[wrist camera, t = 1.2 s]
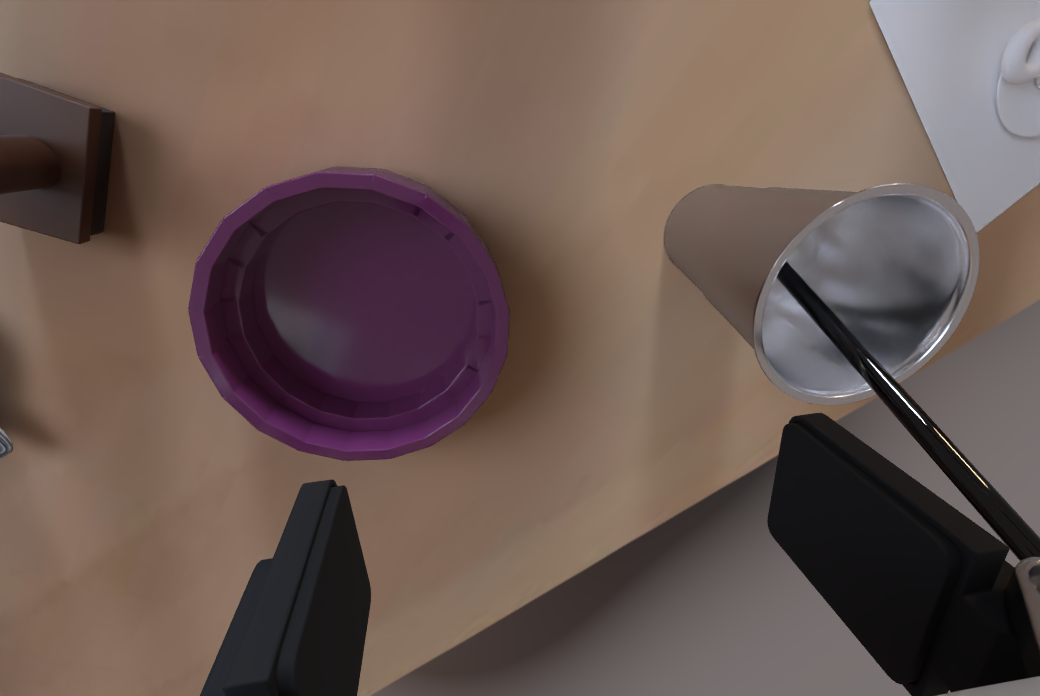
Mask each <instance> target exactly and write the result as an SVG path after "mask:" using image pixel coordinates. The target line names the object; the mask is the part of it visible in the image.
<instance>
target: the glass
mask: <svg viewBox="0 0 1040 696" xmlns="http://www.w3.org/2000/svg"><path fill="white" fill-rule="evenodd" d="M664 244H665V249H666V253H667V255H668V257H669V259H670V260H671V262H672V263H673V264H674V265H675V266H676V267H677V268H678V269H679V270H680V271H681V272H682V273H683V274H684V275H685V276H686V277H687V278H688V279H689V280H690V281H691V282H692V283H693V284H694V285H695V286H696V287H697V288H698V289H699V290H700V291H701V292H702V293H703V295H704V296H705V298H706V299H707V300H708V301H709V302H710V303H711V305H712V306H713V307H714V308H715V309H716V310H717V311H718V312H719V313H720V314H721V315H722V316H723V317H724V318H725V319H726V320H727V321H728V322H729V324H730V325H731V326H732V327H733V328H734V329H735V330H736V331H737V332H738V333H739V334H740V335H741V336H742V337H743V338H744V339H745V341H746V342H747V343H748V344H749V345H750V346H751V347H752V348H753V349H754V351H755V355H756V358H757V360H758V363H759V365H760V367H761V369H762V370H763V372H764V374H765V375H766V376H767V378H768V379H769V380H770V381H771V382H772V383H773V384H774V385H775V386H776V387H777V388H779V389H780V390H781V391H783V392H784V393H786V394H787V395H789V396H791V397H793V398H795V399H798V400H801V401H804V402H808V403H812V404H820V405H838V404H846V403H852V402H856V401H860V400H863V399H867V398H869V397H872V396H875V395H878V396H879V398H880V399H881V400H882V401H883V402H884V403H885V405H886V406H887V407H888V408H889V409H890V410H891V411H892V413H893V414H894V415H895V416H896V417H897V418H898V420H899V421H900V422H901V423H902V424H903V425H904V427H905V428H906V429H907V430H908V431H909V432H910V434H911V435H912V436H913V437H914V438H915V439H916V441H917V442H918V443H919V444H920V445H921V446H922V448H923V449H924V450H925V451H926V452H927V453H928V454H929V456H930V457H931V458H932V459H933V460H934V461H935V463H936V464H937V465H938V466H939V467H940V469H941V470H942V471H943V472H944V473H945V474H946V475H947V477H948V478H949V479H950V480H951V481H952V482H953V484H954V485H955V486H956V487H957V488H958V489H959V491H960V492H961V493H962V494H963V495H964V496H965V497H966V499H967V500H968V501H969V502H970V503H971V505H972V506H973V507H974V508H975V509H976V510H977V512H978V513H979V514H980V515H981V516H982V517H983V519H984V520H985V521H986V522H987V523H988V524H989V526H990V527H991V528H992V529H993V530H994V531H995V533H996V534H997V535H998V536H999V537H1000V538H1001V539H1002V541H1003V542H1004V543H1005V544H1006V545H1007V546H1008V547H1009V548H1010V550H1011V551H1012V552H1013V553H1014V555H1015V556H1016V557H1017V558H1018V559H1019V560H1020V561H1021V560H1023V559H1026V558H1030V557H1040V538H1039V536H1038V535H1037V534H1036V533H1035V532H1034V531H1033V530H1032V529H1031V528H1030V527H1029V526H1028V525H1027V523H1026V522H1025V521H1024V520H1023V519H1022V518H1021V517H1020V516H1019V515H1018V514H1017V512H1016V511H1015V510H1014V509H1013V508H1012V507H1011V506H1010V505H1009V504H1008V503H1007V502H1006V500H1005V499H1004V498H1003V497H1002V496H1001V495H1000V494H999V493H998V492H997V491H996V490H995V488H993V486H992V485H991V484H990V483H989V482H988V481H987V480H986V479H985V478H984V476H983V475H982V474H981V473H980V472H979V471H978V470H977V469H976V468H975V467H974V465H973V464H972V463H971V462H970V461H969V460H968V459H967V458H966V457H965V456H964V454H963V453H962V452H961V451H960V450H959V449H958V448H957V447H956V446H955V445H954V444H953V442H952V441H951V440H950V439H949V438H948V437H947V436H946V435H945V434H944V433H943V432H942V430H941V429H940V428H938V426H937V425H936V424H935V423H934V422H933V421H932V419H931V418H930V417H929V416H928V415H927V414H926V413H925V412H924V411H923V410H922V409H921V407H920V406H919V405H918V404H917V403H916V402H915V401H914V400H913V399H912V398H911V397H910V396H909V395H908V393H907V392H906V391H905V390H904V389H903V388H902V387H901V386H900V384H899V383H901V382H902V381H904V380H905V379H907V378H908V377H910V376H911V375H912V374H914V373H915V372H916V371H918V370H919V369H920V368H921V367H922V366H924V365H925V364H926V363H927V362H928V361H929V360H930V359H931V358H932V357H933V356H934V355H935V354H936V353H937V352H938V351H939V350H940V349H941V348H942V346H943V345H944V344H945V343H946V342H947V340H948V339H949V338H950V336H951V335H952V334H953V332H954V331H955V329H956V328H957V326H958V325H959V323H960V321H961V319H962V318H963V316H964V314H965V312H966V310H967V308H968V306H969V303H970V301H971V298H972V295H973V293H974V289H975V286H976V282H977V277H978V271H979V244H978V239H977V234H976V231H975V228H974V226H973V224H972V221H971V220H970V218H969V216H968V214H967V213H966V212H965V210H964V209H963V208H962V207H961V206H960V205H959V204H958V203H957V202H956V201H955V200H954V199H952V198H951V197H950V196H948V195H946V194H945V193H943V192H941V191H939V190H936V189H934V188H930V187H927V186H923V185H917V184H908V183H895V184H886V185H880V186H875V187H871V188H868V189H864V190H861V191H859V192H851V191H833V190H815V189H797V188H780V187H768V188H756V187H743V186H730V185H723V184H710V185H705V186H702V187H699V188H697V189H695V190H693V191H691V192H690V193H688V194H687V195H686V196H684V197H683V198H682V199H681V200H680V201H679V202H678V203H677V205H676V206H675V207H674V209H673V210H672V212H671V214H670V216H669V218H668V220H667V223H666V227H665V232H664Z"/></svg>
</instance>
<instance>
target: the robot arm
mask: <svg viewBox="0 0 1040 696" xmlns="http://www.w3.org/2000/svg"><path fill="white" fill-rule="evenodd" d="M768 527H769V530H770V533H771V535H772V536H773V538H774V539H775V540H776V541H777V543H778V544H779V545H780V546H781V547H782V549H783V550H784V551H785V552H786V553H787V555H788V556H789V557H790V558H791V559H792V561H793V562H794V563H795V564H796V565H797V567H798V568H799V569H800V570H801V571H802V573H803V574H804V575H805V576H806V577H807V579H808V580H809V581H810V582H811V584H812V585H813V586H814V587H815V588H816V590H817V591H818V592H819V593H820V594H821V595H822V596H823V598H824V599H825V600H826V601H827V603H828V604H829V605H830V606H831V608H832V609H833V610H834V611H835V612H836V614H837V615H838V616H839V617H840V618H841V620H842V621H843V622H844V623H845V624H846V626H847V627H848V628H849V629H850V630H851V632H852V633H853V634H854V635H855V636H856V638H857V639H858V640H859V641H860V642H861V644H862V645H863V646H864V647H865V648H866V650H867V651H868V652H869V653H870V655H871V656H872V657H873V658H874V659H875V661H876V662H877V663H878V664H879V665H880V667H881V668H882V669H883V670H884V671H885V673H886V674H887V675H888V676H889V677H890V678H891V679H892V680H893V681H895V682H896V683H899V684H902V685H903V686H904V687H905V688H906V689H907V691H908V692H909V693H910V694H911V695H912V696H1040V557H1030V558H1026V559H1023V560H1021V561H1020V562H1019V563H1018V564H1017V565H1016V567H1015V568H1014V567H1013V566H1012V565H1010V564H1009V563H1008V562H1006V561H1005V558H1006V556H1007V553H1008V551H1009V549H1010V548H1009V547H1007V546H1006V545H1005V544H1003V543H1002V542H1001V541H999V540H998V539H996V538H995V537H994V536H992V535H991V534H989V533H988V532H987V531H985V530H984V529H983V528H981V527H980V526H978V525H977V524H975V523H974V522H973V521H971V520H970V519H969V518H967V517H966V516H965V515H963V514H962V513H960V512H959V511H958V510H956V509H955V508H953V507H952V506H950V505H949V504H948V503H946V502H945V501H944V500H942V499H941V498H939V497H938V496H937V495H935V494H934V493H933V492H931V491H930V490H929V489H927V488H926V487H924V486H923V485H922V484H920V483H919V482H917V481H916V480H915V479H913V478H912V477H911V476H909V475H908V474H906V473H905V472H904V471H902V470H901V469H900V468H898V467H897V466H895V465H894V464H893V463H891V462H890V461H889V460H887V459H886V458H884V457H883V456H882V455H880V454H879V453H877V452H876V451H875V450H873V449H872V448H871V447H869V446H868V445H866V444H865V443H864V442H862V441H861V440H859V439H858V438H856V437H855V436H854V435H853V434H851V433H850V432H848V431H847V430H846V429H844V428H843V427H842V426H840V425H839V424H837V423H836V422H835V421H833V420H832V419H830V418H829V417H828V416H826V415H824V414H822V413H814V414H807V415H800V416H795V417H792V418H791V420H790V421H789V424H787V425H785V427H784V429H783V433H782V438H781V444H780V450H779V456H778V462H777V468H776V473H775V479H774V485H773V490H772V496H771V502H770V508H769V514H768ZM370 603H371V589H370V582H369V578H368V574H367V570H366V566H365V562H364V557H363V553H362V549H361V545H360V541H359V537H358V533H357V529H356V525H355V520H354V516H353V512H352V508H351V504H350V500H349V496H348V492H347V488H346V487H345V486H337V484H336V482H335V481H334V480H326V481H319V482H311V483H305V484H303V485H302V486H301V488H300V491H299V493H298V496H297V498H296V501H295V504H294V506H293V509H292V511H291V514H290V516H289V519H288V521H287V524H286V526H285V529H284V532H283V534H282V537H281V539H280V542H279V544H278V547H277V549H276V552H275V554H274V557H273V558H272V559H266V560H261V561H260V562H259V563H258V564H257V565H256V567H255V569H254V570H253V573H252V575H251V577H250V580H249V582H248V584H247V587H246V589H245V591H244V594H243V596H242V598H241V601H240V603H239V605H238V608H237V610H236V612H235V615H234V617H233V619H232V622H231V624H230V626H229V629H228V631H227V633H226V636H225V638H224V641H223V643H222V645H221V648H220V650H219V652H218V655H217V657H216V659H215V662H214V664H213V666H212V669H211V671H210V673H209V676H208V678H207V680H206V683H205V685H204V687H203V690H202V692H201V694H200V696H357V692H358V685H359V678H360V672H361V665H362V658H363V651H364V644H365V637H366V631H367V624H368V617H369V610H370ZM949 690H950V691H951V692H950V693H948V691H949Z"/></svg>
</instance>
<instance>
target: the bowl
mask: <svg viewBox="0 0 1040 696" xmlns="http://www.w3.org/2000/svg"><path fill="white" fill-rule="evenodd" d="M188 309H189V311H188V312H189V316H190V321H191V326H192V331H193V335H194V340H195V345H196V350H197V355H198V356H199V359H200V361H201V363H202V364H203V366H204V368H205V369H206V371H207V373H208V374H209V376H210V378H211V379H212V381H213V383H214V384H215V386H216V388H217V389H218V391H219V393H220V394H221V396H222V397H223V399H224V400H225V401H227V402H228V403H229V404H230V405H231V406H232V407H233V408H234V409H235V410H237V411H238V412H239V413H240V414H241V415H242V416H243V417H244V418H245V419H246V420H248V421H249V422H250V423H251V424H252V425H253V426H254V427H255V428H256V429H258V430H259V431H261V432H263V433H265V434H267V435H269V436H271V437H273V438H275V439H277V440H279V441H281V442H282V443H284V444H286V445H288V446H290V447H292V448H294V449H296V450H298V451H302V452H306V453H311V454H315V455H320V456H325V457H329V458H334V459H339V460H343V461H345V460H346V461H353V460H378V459H389V458H390V459H391V458H395V457H398V456H401V455H404V454H407V453H411V452H414V451H417V450H420V449H424V448H427V447H430V446H432V445H434V444H435V443H437V442H438V441H440V440H441V439H443V438H444V437H446V436H447V435H449V434H451V433H452V432H454V431H455V430H457V429H458V428H460V427H461V426H463V425H464V424H465V423H467V421H468V420H469V419H470V418H471V417H472V415H473V414H474V413H475V412H476V411H477V409H478V408H479V407H480V406H481V405H482V403H483V402H484V401H485V400H486V399H487V398H488V396H489V395H490V394H491V392H492V391H493V389H494V386H495V384H496V381H497V379H498V376H499V374H500V371H501V369H502V366H503V364H504V361H505V359H506V356H507V353H508V332H509V307H508V304H507V301H506V297H505V294H504V290H503V287H502V283H501V280H500V276H499V273H498V270H497V267H496V265H495V262H494V260H493V258H492V255H491V253H490V251H489V249H488V247H487V246H486V244H485V243H484V241H483V240H482V239H481V237H480V236H479V234H478V233H477V231H476V230H475V228H474V227H473V225H472V224H471V222H470V221H469V220H468V218H467V217H466V215H464V213H463V212H461V211H460V210H459V209H458V208H456V207H455V206H454V205H452V204H451V203H450V202H449V201H447V200H446V199H445V198H443V197H442V196H441V195H440V194H438V193H437V192H436V191H434V190H433V189H432V188H431V187H429V186H427V185H425V184H423V183H420V182H417V181H414V180H412V179H409V178H406V177H404V176H401V175H398V174H396V173H393V172H390V171H388V170H385V169H377V168H356V167H331V168H328V169H324V170H321V171H317V172H314V173H310V174H307V175H304V176H300V177H297V178H293V179H290V180H287V181H283V182H280V183H277V184H274V185H270V186H267V187H265V188H263V189H262V190H260V191H259V192H257V193H256V194H255V195H253V196H252V197H251V198H249V199H248V200H247V201H245V202H244V203H243V204H241V205H240V206H239V207H237V208H236V209H235V210H233V211H232V212H231V213H229V214H228V215H227V216H225V217H224V218H223V219H222V220H221V222H220V223H219V225H218V226H217V228H216V230H215V231H214V233H213V235H212V236H211V238H210V240H209V241H208V243H207V244H206V246H205V248H204V249H203V251H202V253H201V254H200V256H199V257H198V259H197V262H196V265H195V271H194V277H193V283H192V289H191V295H190V301H189V307H188Z"/></svg>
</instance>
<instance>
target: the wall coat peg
mask: <svg viewBox="0 0 1040 696" xmlns="http://www.w3.org/2000/svg"><path fill="white" fill-rule="evenodd" d="M114 119H115V112H113V111H110V110H107V109H104V108H101V107H99V106H96V105H93V104H90V103H87V102H85V101H82V100H79V99H76V98H73V97H70V96H68V95H65V94H62V93H59V92H56V91H53V90H51V89H48V88H45V87H42V86H39V85H37V84H34V83H31V82H28V81H25V80H22V79H19V78H14V77H11V76H9V75H6V74H3V73H0V222H4V223H7V224H11V225H14V226H18V227H21V228H25V229H28V230H32V231H35V232H38V233H42V234H45V235H49V236H52V237H56V238H59V239H63V240H66V241H70V242H73V243H77V244H81V243H85V242H88V241H90V236H92V235H95V234H99V233H102V232H103V230H104V220H105V210H106V200H107V190H108V179H109V169H110V159H111V149H112V139H113V129H114Z"/></svg>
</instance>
